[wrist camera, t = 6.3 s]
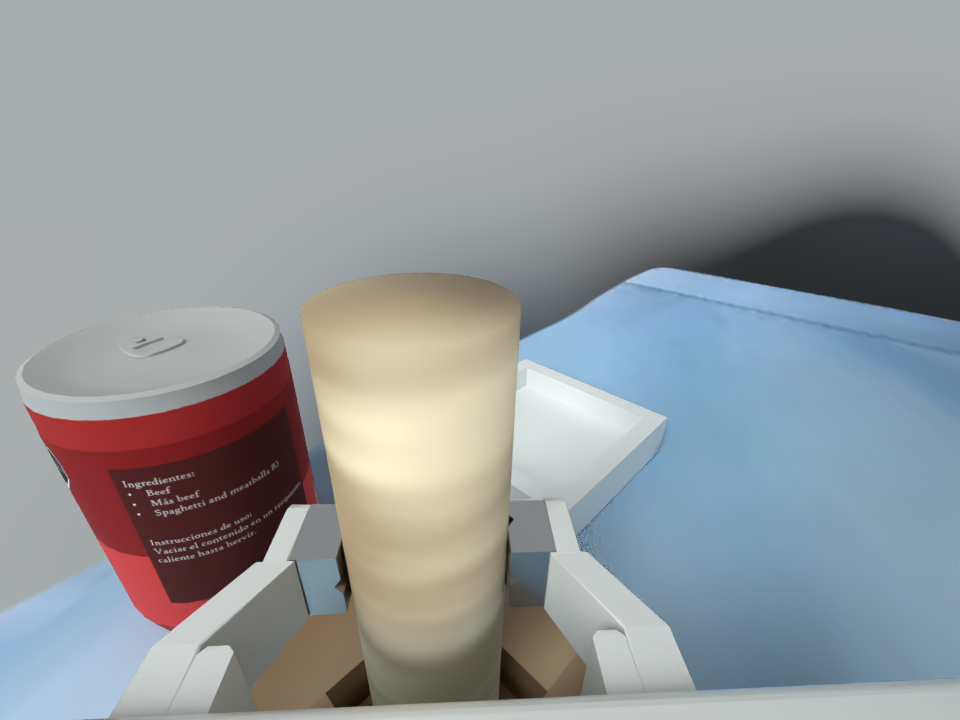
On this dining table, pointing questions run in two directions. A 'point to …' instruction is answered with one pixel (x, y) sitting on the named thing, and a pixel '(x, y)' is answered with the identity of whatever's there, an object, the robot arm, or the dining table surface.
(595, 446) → the tray
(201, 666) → the robot arm
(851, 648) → the dining table surface
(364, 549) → the dowel
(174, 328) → the canned food
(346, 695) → the socket block
